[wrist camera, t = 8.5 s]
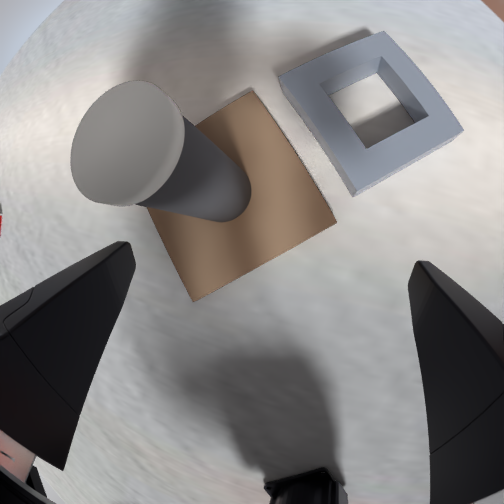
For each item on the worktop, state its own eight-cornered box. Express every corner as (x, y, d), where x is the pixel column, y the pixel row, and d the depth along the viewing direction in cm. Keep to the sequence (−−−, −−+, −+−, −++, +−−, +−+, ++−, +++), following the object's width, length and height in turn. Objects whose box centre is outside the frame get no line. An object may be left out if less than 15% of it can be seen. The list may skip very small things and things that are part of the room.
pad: (198, 299, 23) (193, 302, 22) (138, 174, 24) (131, 172, 23) (336, 223, 21) (337, 222, 20) (255, 96, 22) (252, 90, 21)
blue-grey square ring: (352, 197, 20) (357, 191, 18) (282, 92, 21) (278, 76, 19) (451, 141, 18) (464, 130, 16) (379, 48, 19) (383, 30, 17)
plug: (226, 238, 22) (115, 230, 9) (180, 199, 22) (55, 163, 10) (267, 185, 21) (199, 111, 9) (218, 149, 22) (120, 66, 9)
